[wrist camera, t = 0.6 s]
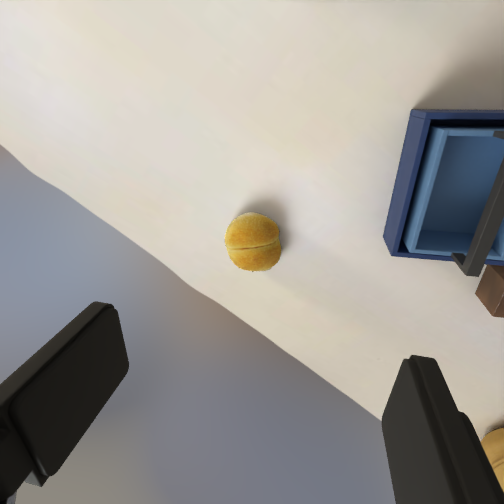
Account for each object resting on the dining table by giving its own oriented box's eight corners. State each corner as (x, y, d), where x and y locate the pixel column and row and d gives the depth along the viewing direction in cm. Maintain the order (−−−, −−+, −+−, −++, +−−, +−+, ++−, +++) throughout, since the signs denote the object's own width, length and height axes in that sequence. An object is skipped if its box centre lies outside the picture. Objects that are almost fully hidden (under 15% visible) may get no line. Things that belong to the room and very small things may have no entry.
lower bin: (411, 109, 34) (426, 112, 29) (538, 110, 31) (577, 113, 27) (382, 236, 41) (391, 256, 36) (483, 244, 39) (507, 266, 34)
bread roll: (276, 207, 42) (272, 218, 39) (284, 263, 46) (281, 277, 43) (221, 213, 44) (213, 223, 41) (233, 265, 48) (226, 279, 45)
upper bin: (422, 123, 34) (461, 135, 24) (520, 124, 32) (601, 137, 23) (396, 230, 40) (419, 271, 30) (477, 235, 38) (527, 281, 29)
